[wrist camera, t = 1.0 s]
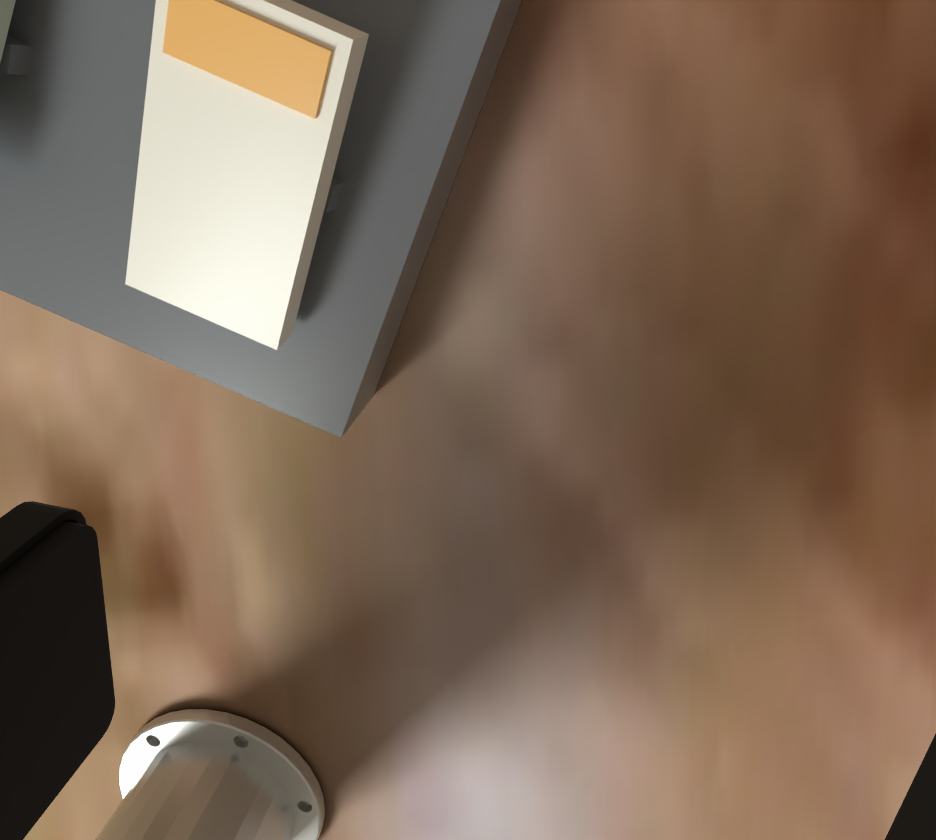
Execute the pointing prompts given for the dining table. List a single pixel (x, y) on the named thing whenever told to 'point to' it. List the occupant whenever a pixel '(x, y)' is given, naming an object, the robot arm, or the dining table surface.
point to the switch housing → (344, 218)
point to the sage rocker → (5, 21)
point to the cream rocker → (239, 157)
